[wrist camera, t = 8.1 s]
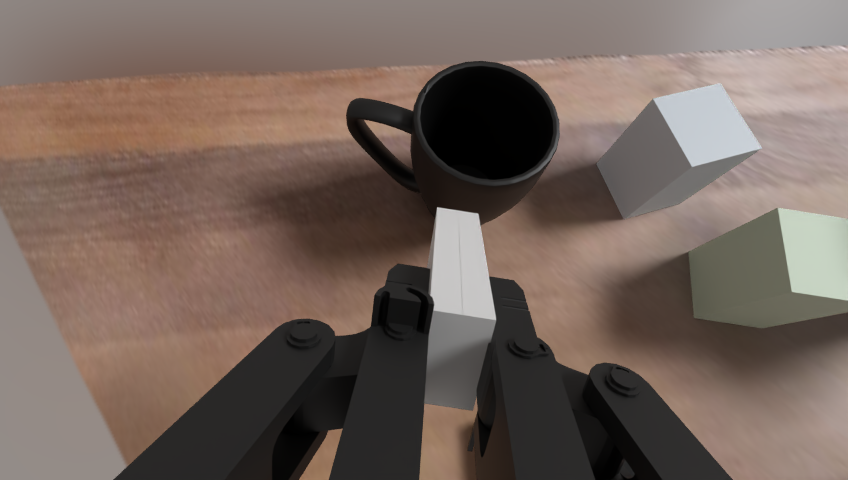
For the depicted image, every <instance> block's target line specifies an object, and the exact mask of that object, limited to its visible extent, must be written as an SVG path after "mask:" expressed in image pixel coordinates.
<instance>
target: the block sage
mask: <svg viewBox="0 0 848 480" xmlns="http://www.w3.org/2000/svg"><path fill="white" fill-rule="evenodd" d="M688 254H689V266H690V278H691V289H692V301H693V313H694V318H698V319H704V320H711V321H717V322H724V323H730V324H737V325H744V326H750V327H757V328H767V327H773V326H778V325H783V324H789V323H794V322H799V321H805V320H810V319H815V318H821V317H826V316H831V315H837V314H842V313H847V312H848V219H846V218H839V217H833V216H827V215H820V214H814V213H808V212H801V211H795V210H789V209H782V208H776V209H774V210H772V211H770V212H768V213H766V214H764V215H762V216H760V217H758V218H756V219H754V220H752V221H750V222H748V223H746V224H744V225H742V226H740V227H738V228H736V229H734V230H732V231H730V232H728V233H726V234H724V235H722V236H719V237H717V238H715V239H713V240H711V241H709V242H707V243H705V244H703V245H701V246H699V247H697V248H695V249H693V250H691V251H689V252H688Z"/></svg>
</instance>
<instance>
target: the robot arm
mask: <svg viewBox="0 0 848 480" xmlns="http://www.w3.org/2000/svg"><path fill="white" fill-rule="evenodd" d="M476 396H477V405H478V411H477V415H476V419H475V422H474V426H473V430H472V434H471V437H470V441H469V446H468V451H472V450H473V446H474V444H475V461H476V478H477V480H732V478H731V477H730V476H729V475H728V474H727V473H726V472H725V470H724V469H723V468H722V467H721V466H720V465H719V464H718V462H717V461H716V460H715V459H714V458H713V457H712V456H711V454H710V453H709V452H708V451H707V450H706V449H705V448H704V446H703V445H702V444H701V443H700V442H699V441H698V439H697V438H696V437H695V436H694V435H693V434H692V433H691V431H690V430H689V429H688V428H687V427H686V426H685V425H684V423H683V422H682V421H681V420H680V419H679V418H678V417H677V415H676V414H675V413H674V412H673V411H672V410H671V409H670V407H669V406H668V405H667V404H666V403H665V402H664V401H663V399H662V398H661V397H660V396H659V395H658V394H657V393H656V391H655V390H654V389H653V388H652V387H651V386H650V385H649V383H647V382H646V381H645V380H644V379H643V378H642V377H641V376H640V375H638V374H636V373H635V372H633V371H631V370H630V369H628V368H625V367H622V366H620V365H617V364H611V363H601V364H596V365H595V366H594V367H593V368H592V369H591V370H590V373H589V375H587V374H584V373H581V372H579V371H576V370H573V369H571V368H568V367H566V366H564V365H561V364H559V363H558V362H556V360H555V357H554V354H553V352H552V350H551V349H550V347H549V346H548V345H547V344H546V343H545V342H544V341H542V340H541V339H539V338H537V336H536V332H535V329H534V325H533V322H532V319H531V315H530V312H529V311H528V305H527V303H526V299H525V295H524V292H523V290H522V289H521V288H520V287H519V285H518V284H517V283H516V282H515V281H514V280H509V279H502V278H496V277H489V274H488V268H487V262H486V256H485V250H484V244H483V238H482V232H481V226H480V220H479V214H477V213H471V212H464V211H458V210H452V209H445V208H439V207H437V211H436V217H435V223H434V229H433V235H432V241H431V247H430V253H429V259H428V265H427V268H423V267H417V266H410V265H404V264H397V265H396V266H394V267H393V268H392V269H391V270H389V272H388V276H387V280H386V284H385V286H384V287H382V288H380V289H379V290H378V291H377V292H376V294H375V296H374V304H373V313H372V322H371V327H370V328H368V329H367V330H365V331H363V332H360V333H357V334H353V335H345V336H335V333H334V331H333V330H332V328H331V327H330V326H329V325H327V324H325V323H323V322H321V321H318V320H313V319H296V320H293V321H289V322H286V323H284V324H282V325H281V326H279V327H278V328H276V329H275V330H274V331H273V332H272V333H271V334H270V335H269V336H267V337H266V338H265V339H264V340H263V341H262V342H261V343H260V344H259V345H258V346H257V347H256V348H255V349H254V350H252V351H251V352H250V353H249V354H248V355H247V356H246V357H245V358H244V359H243V360H242V361H241V362H240V363H238V364H237V365H236V366H235V367H234V368H233V369H232V370H231V371H230V372H229V373H228V374H227V375H226V376H224V377H223V378H222V379H221V380H220V381H219V382H218V383H217V384H216V385H215V386H214V387H213V388H212V389H210V390H209V391H208V392H207V393H206V394H205V395H204V396H203V397H202V398H201V399H200V400H199V401H198V402H197V403H195V404H194V405H193V406H192V407H191V408H190V409H189V410H188V411H187V412H186V413H185V414H184V415H183V416H181V417H180V418H179V419H178V420H177V421H176V422H175V423H174V424H173V425H172V426H171V427H170V428H169V429H167V430H166V431H165V432H164V433H163V434H162V435H161V436H160V437H159V438H158V439H157V440H156V441H155V442H153V443H152V444H151V445H150V446H149V447H148V448H147V449H146V450H145V451H144V452H143V453H142V454H141V455H140V456H138V457H137V458H136V459H135V460H134V461H133V462H132V463H131V464H130V465H129V466H128V467H127V468H126V469H124V470H123V471H122V472H121V473H120V474H119V475H118V476H117V477H116V478H115V479H114V480H299V479H300V477H301V475H302V474H303V472H304V471H305V469H306V467H307V466H308V464H309V463H310V461H311V460H312V458H313V456H314V455H315V453H316V452H317V450H318V448H319V447H320V445H321V444H322V442H323V441H324V439H325V437H326V435H327V432H328V430H334V429H341V428H343V430H342V434H341V437H340V441H339V445H338V448H337V452H336V456H335V459H334V463H333V466H332V470H331V474H330V477H329V480H419V473H420V458H421V443H422V429H423V414H424V403H426V404H432V405H439V406H445V407H452V408H459V409H465V410H472V411H473V408H474V404H475V400H476ZM625 460H626V462H627V463H628V465H629V466H630V468H631V469H632V471H633V472H634V474H635V475H634V476H632V475H631V474H630V473H629V472H628V470H627V469H626V467H625V466H624V462H625Z"/></svg>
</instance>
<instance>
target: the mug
mask: <svg viewBox="0 0 848 480" xmlns="http://www.w3.org/2000/svg"><path fill="white" fill-rule="evenodd" d="M346 118H347V126H348V129H349V131H350V133H351V135H352V136H353V138H354V139H355V140H356V141H357V142H358V144H359V145H360V146H361V147H362V148H363V149H364V150H365V151H366V152H367V153H368V154H369V155H370V156H371V157H372V158H373V159H374V160H375V161H376V162H377V163H378V164H379V165H380V166H381V167H382V168H383V169H384V170H385V171H386V172H387V173H388V174H389V175H390V176H391V177H392V178H393V179H394V180H396V181H397V182H398V183H399V184H401V185H402V186H404V187H405V188H407V189H409V190H411V191H414V192H418V193H421V195H422V197H423V199H424V201H425V203H426V204H427V207H428V209H429V211H430V212H431V214H432V215H433V216H434V217H436V211H437V207H439V208H445V209H452V210H458V211H464V212H471V213H477V214H479V220H480V226H481V225H482V224H484V223H486V222H489V221H491V220H493V219H495V218H497V217H498V216H500V215H501V214H503V213H505V212H506V211H508V210H509V209H511V208H512V207H513V206H515V205H516V204H517V203H518V202H519V201H520V200H521V199H522V198H523V197H524V196H525V195H526V194H527V193H528V192H529V191H530V190H531V189H532V187H533V186H534V185H535V183H536V182H537V180H538V179H539V177H540V176H541V174H542V173H543V172H544V170H545V169H546V167H547V166H548V164H549V163H550V161H551V159H552V157H553V155H554V153H555V152H556V149H557V145H558V141H559V136H560V133H559V119H558V116H557V112H556V109H555V106H554V105H553V103H552V101H551V99H550V98H549V96H548V94H547V93H546V92H545V91H544V90H543V89H542V88H541V86H540V85H539V84H538V83H537V82H535V81H534V80H533V79H531V78H530V77H529V76H527V75H526V74H524V73H522V72H520V71H518V70H516V69H514V68H512V67H509V66H506V65H503V64H499V63H495V62H486V61H474V62H465V63H461V64H457V65H453V66H450V67H448V68H446V69H444V70H442V71H440V72H439V73H437V74H436V75H435V76H434V77H433V78H431V79H430V80H429V81H428V82H427V83H426V85H425V86H424V87H423V89H422V90H421V92H420V93H419V95H418V97H417V100H416V103H415V105H414V110H413V111H411V110H408V109H405V108H402V107H399V106H396V105H392V104H389V103H385V102H382V101H377V100H372V99H365V98H357V99H354V100H353V101H351V102H350V104H349V106H348V109H347V114H346ZM364 120H369V121H374V122H378V123H382V124H385V125H389V126H392V127H395V128H397V129H400V130H403V131H405V132H407V133H410V134H411V150H410V151H411V158H412V165H413V169H411V168H409V167H407V166H406V165H404V164H403V163H402V162H400V161H399V160H398V159H397V158H396V157H395V156H394V155H393V154H392V153H391V152H390V151H389V150H388V149H387V148H386V147H385V146H384V145H383V144H382V142H381V141H380V140H379V139H378V138H377V137H376V136H375V134H374V133H373V132H372V131H371V130H370V128H369V127H368V126H367V124H366V123H365V121H364Z"/></svg>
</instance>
